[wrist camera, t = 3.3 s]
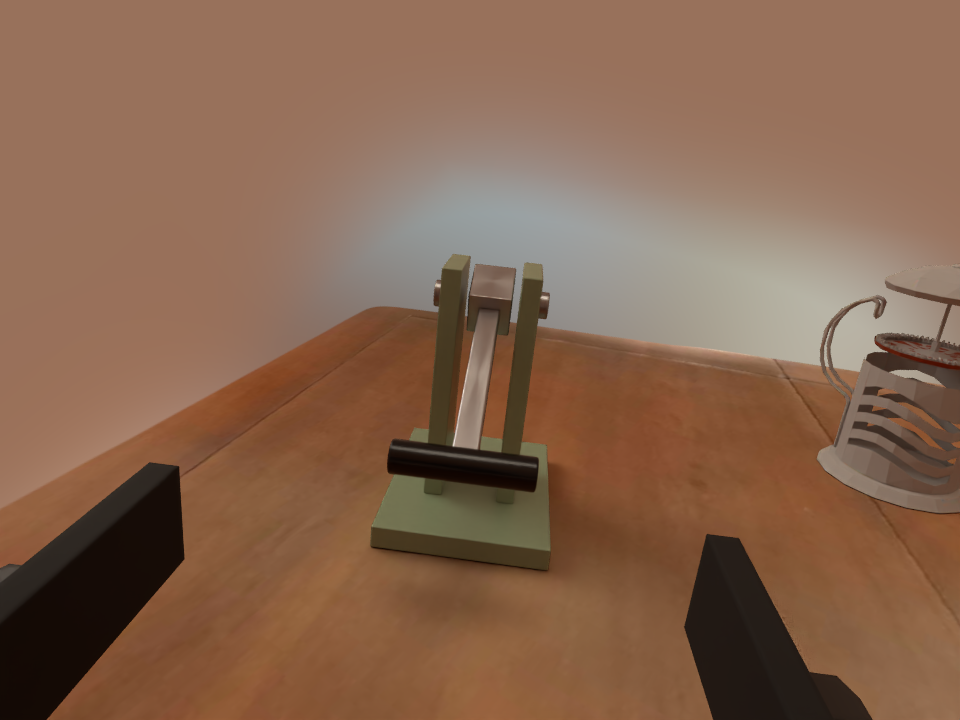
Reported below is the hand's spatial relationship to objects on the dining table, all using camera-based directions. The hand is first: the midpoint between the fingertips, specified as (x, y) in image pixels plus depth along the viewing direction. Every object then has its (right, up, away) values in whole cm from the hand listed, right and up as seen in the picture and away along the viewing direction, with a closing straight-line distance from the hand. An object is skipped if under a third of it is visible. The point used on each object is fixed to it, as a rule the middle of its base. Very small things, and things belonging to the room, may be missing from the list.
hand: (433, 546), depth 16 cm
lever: (+1, +3, +15) cm, 16 cm away
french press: (+30, -4, +31) cm, 44 cm away
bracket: (+1, -4, +22) cm, 22 cm away
